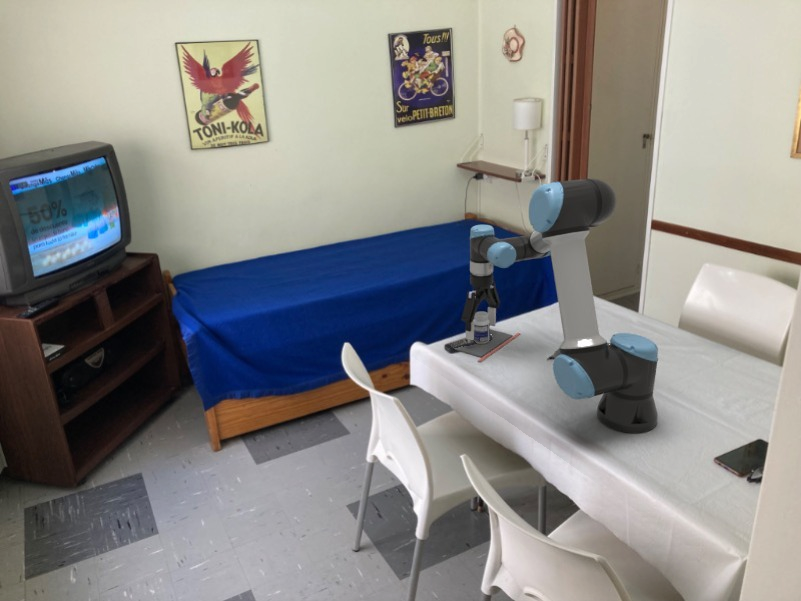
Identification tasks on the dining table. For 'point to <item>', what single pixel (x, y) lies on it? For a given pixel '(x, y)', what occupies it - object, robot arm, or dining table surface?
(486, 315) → the pill bottle
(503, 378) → the dining table surface
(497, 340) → the mat
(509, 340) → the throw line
